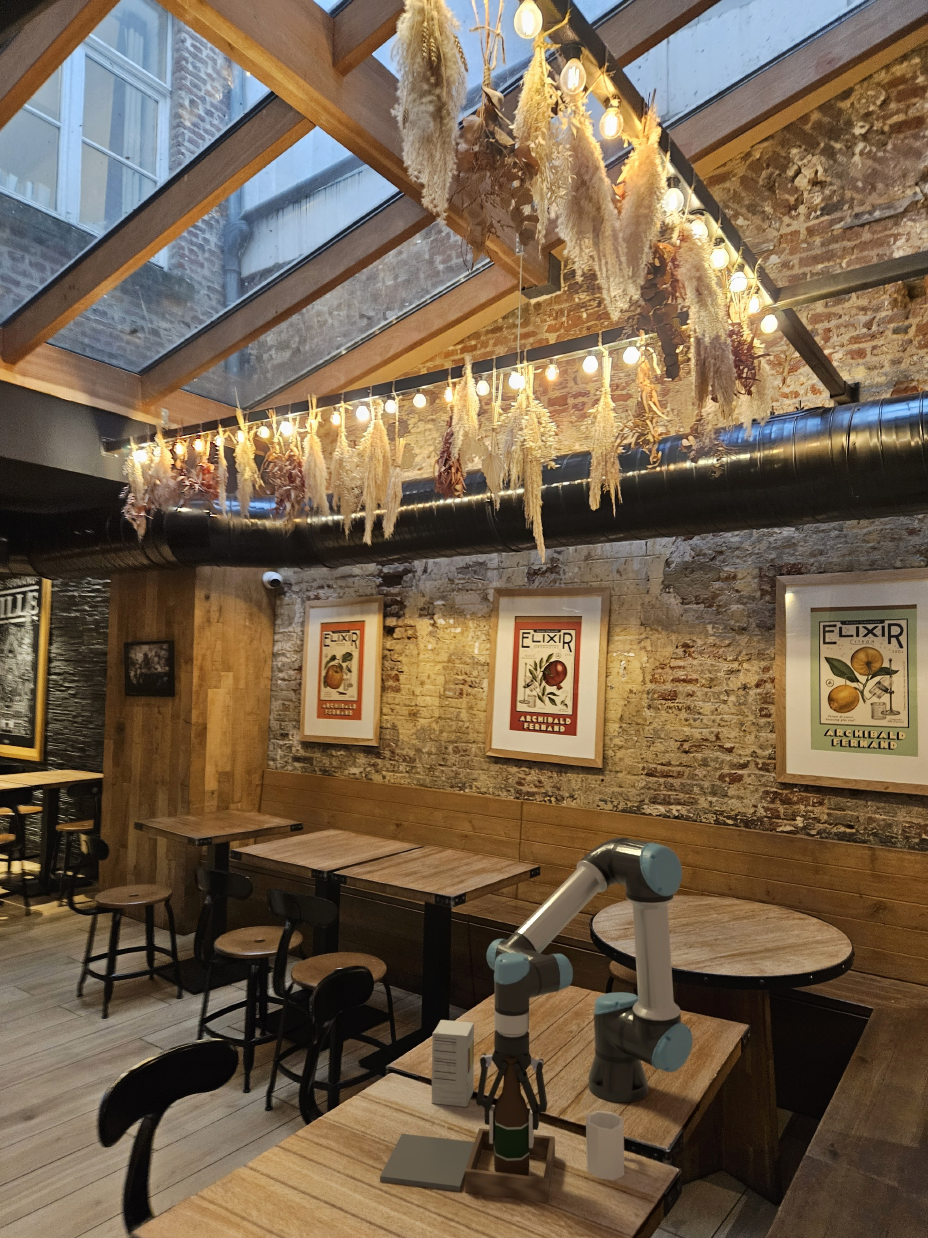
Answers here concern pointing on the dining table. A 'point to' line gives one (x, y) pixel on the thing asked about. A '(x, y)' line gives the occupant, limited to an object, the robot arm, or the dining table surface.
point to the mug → (605, 1145)
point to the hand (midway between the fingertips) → (511, 1142)
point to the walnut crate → (507, 1182)
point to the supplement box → (453, 1063)
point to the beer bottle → (511, 1126)
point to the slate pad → (428, 1162)
